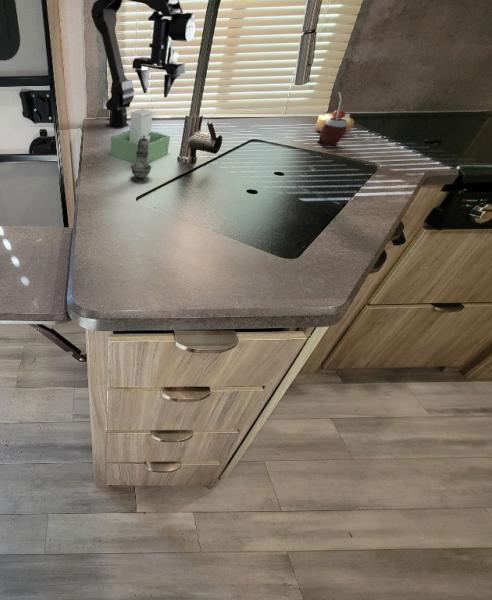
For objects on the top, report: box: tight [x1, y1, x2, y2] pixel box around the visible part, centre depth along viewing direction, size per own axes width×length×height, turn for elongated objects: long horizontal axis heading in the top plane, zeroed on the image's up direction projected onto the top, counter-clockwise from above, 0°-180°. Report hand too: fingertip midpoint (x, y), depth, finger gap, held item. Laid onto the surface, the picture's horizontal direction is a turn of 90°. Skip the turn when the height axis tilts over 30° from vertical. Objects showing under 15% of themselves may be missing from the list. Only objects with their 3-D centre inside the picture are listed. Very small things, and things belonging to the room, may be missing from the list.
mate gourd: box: [316, 91, 347, 148], centre depth 111 cm, size 8×8×15 cm
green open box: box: [110, 129, 171, 164], centre depth 107 cm, size 14×14×6 cm
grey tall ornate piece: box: [130, 135, 153, 184], centre depth 90 cm, size 6×6×12 cm
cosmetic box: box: [129, 108, 153, 143], centre depth 105 cm, size 6×4×12 cm
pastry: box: [316, 105, 355, 135], centre depth 123 cm, size 12×12×9 cm
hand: (155, 95), depth 117 cm, fingers open, 9 cm apart
